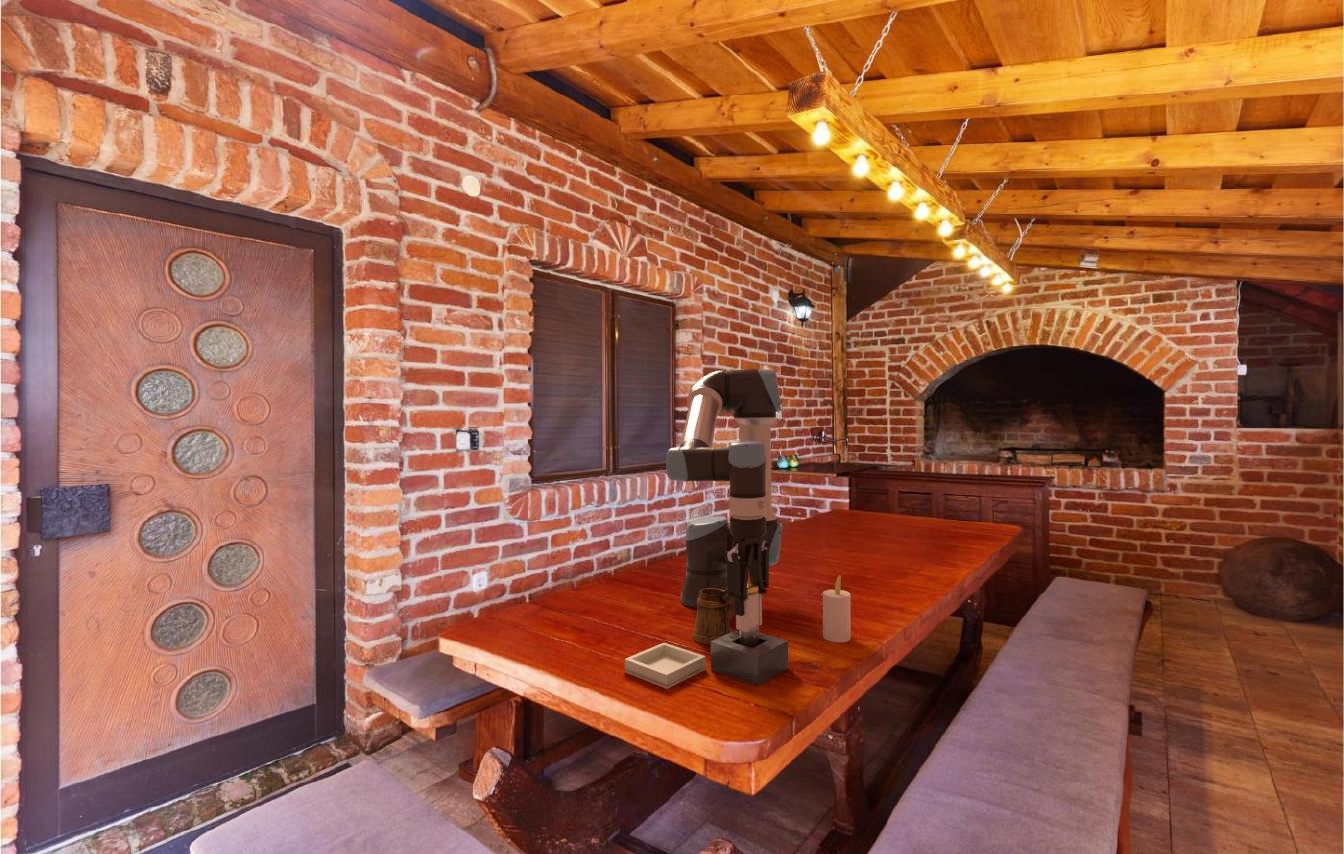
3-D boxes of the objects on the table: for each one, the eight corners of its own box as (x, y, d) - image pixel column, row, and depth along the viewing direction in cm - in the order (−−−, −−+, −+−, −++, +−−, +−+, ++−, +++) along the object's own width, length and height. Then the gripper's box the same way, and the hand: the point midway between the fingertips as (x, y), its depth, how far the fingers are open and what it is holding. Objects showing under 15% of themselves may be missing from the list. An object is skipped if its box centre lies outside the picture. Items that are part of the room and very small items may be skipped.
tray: (625, 672, 135) (624, 659, 135) (664, 654, 144) (663, 642, 144) (666, 688, 127) (666, 674, 127) (705, 669, 136) (705, 656, 136)
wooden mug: (733, 652, 145) (732, 573, 144) (685, 639, 153) (684, 564, 152) (754, 640, 152) (753, 564, 151) (707, 628, 160) (706, 556, 159)
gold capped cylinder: (736, 657, 136) (735, 586, 135) (747, 651, 139) (746, 582, 138) (751, 662, 133) (750, 590, 132) (762, 656, 136) (762, 585, 135)
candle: (826, 630, 157) (825, 569, 156) (853, 634, 154) (852, 572, 153) (819, 639, 151) (818, 576, 151) (847, 643, 148) (847, 579, 148)
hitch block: (710, 669, 136) (710, 641, 135) (742, 654, 144) (741, 627, 143) (758, 686, 127) (757, 656, 127) (788, 668, 135) (788, 640, 135)
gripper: (737, 525, 125) (739, 643, 127) (785, 511, 138) (786, 619, 139) (707, 520, 130) (709, 633, 132) (756, 508, 143) (757, 611, 144)
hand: (749, 626), depth 135 cm, fingers closed on gold capped cylinder, 4 cm apart
